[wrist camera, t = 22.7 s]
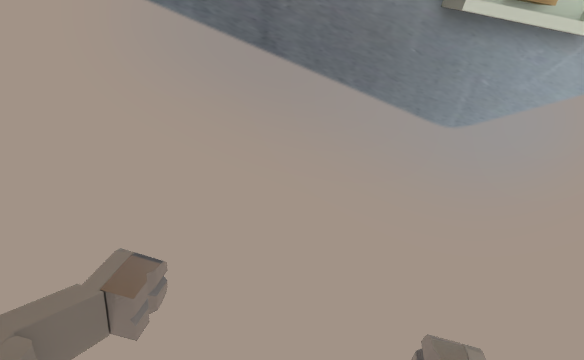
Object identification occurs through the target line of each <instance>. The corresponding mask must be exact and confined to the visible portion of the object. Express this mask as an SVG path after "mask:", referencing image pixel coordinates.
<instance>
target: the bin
mask: <svg viewBox="0 0 584 360" xmlns="http://www.w3.org/2000/svg"><path fill="white" fill-rule="evenodd" d="M441 7H445V8H450V9H455V10H460V11H465V12H469V13H474V14H479V15H484V16H489V17H493V18H498V19H503V20H508V21H513V22H517V23H522V24H527V25H532V26H537V27H541V28H546V29H551V30H556V31H561V32H565V33H570V34H575V35H580V36H584V0H558V1H557V3H556V5H555V6H550V5H538V4H533V3H528V2H523V1H518V0H443V2H442V5H441Z"/></svg>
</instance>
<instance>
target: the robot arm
mask: <svg viewBox="0 0 584 360" xmlns="http://www.w3.org/2000/svg"><path fill="white" fill-rule="evenodd" d="M166 271H167V263H166V262H164V261H161V260H158V259H155V258H151V257H148V256H145V255H142V254H138V253H135V252H131V251H128V250H124V249H118V250H116V251H115V252H114V253H113V254H112V255H111V256H110V257H109V258H108V259H107V260H106V261H105V262H104V263H103V264H102V265H101V266H100V267H99V268H98V269H97V270H96V271H95V272H94V273H93V274H92V275H91V276H90V277H89V278H88V279H87V280H86V282H84V283H83V284H82V285H79V284H76V285H73V286H71V287H68V288H66V289H64V290H61V291H58V292H56V293H53V294H51V295H48V296H46V297H43V298H41V299H39V300H36V301H34V302H31V303H29V304H26V305H24V306H21V307H19V308H16V309H14V310H11V311H9V312H7V313H4V314H1V315H0V360H71V359H73V358H75V357H76V356H78V355H79V354H81V353H82V352H84V351H86V350H87V349H89V348H90V347H92V346H93V345H95V344H97V343H98V342H100V341H101V340H103V339H104V338H106V337H108V336H109V334H113V335H117V336H120V337H124V338H128V339H132V340H135V341H137V340H138V338H139V337H140V335H141V334H142V332H143V331H144V329H145V328H146V326H147V325H148V323H149V314H151V313H153V312H155V311H156V310H157V309H158V308H159V306H160V305H161V303H162V301H163V299H164V296H165V294H166V290H167V280H166V278H165V277H164V274H165V273H166ZM421 343H422V349H420V350H417V351H416V352H415V354H414V356H413V357H412V360H486V359H485V356H484V353H483V352H482V350H481V349H479V348H475V347H472V346H468V345H464V344H461V343H458V342H454V341H450V340H447V339H443V338H439V337H435V336H432V335H426V336H425V337H424V338H423V340H422V341H421Z"/></svg>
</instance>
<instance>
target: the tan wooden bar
mask: <svg viewBox="0 0 584 360" xmlns="http://www.w3.org/2000/svg"><path fill="white" fill-rule="evenodd" d="M518 1H523V2H528V3H533V4H538V5H550V6H555V5H556V3H557V1H558V0H518Z"/></svg>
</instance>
